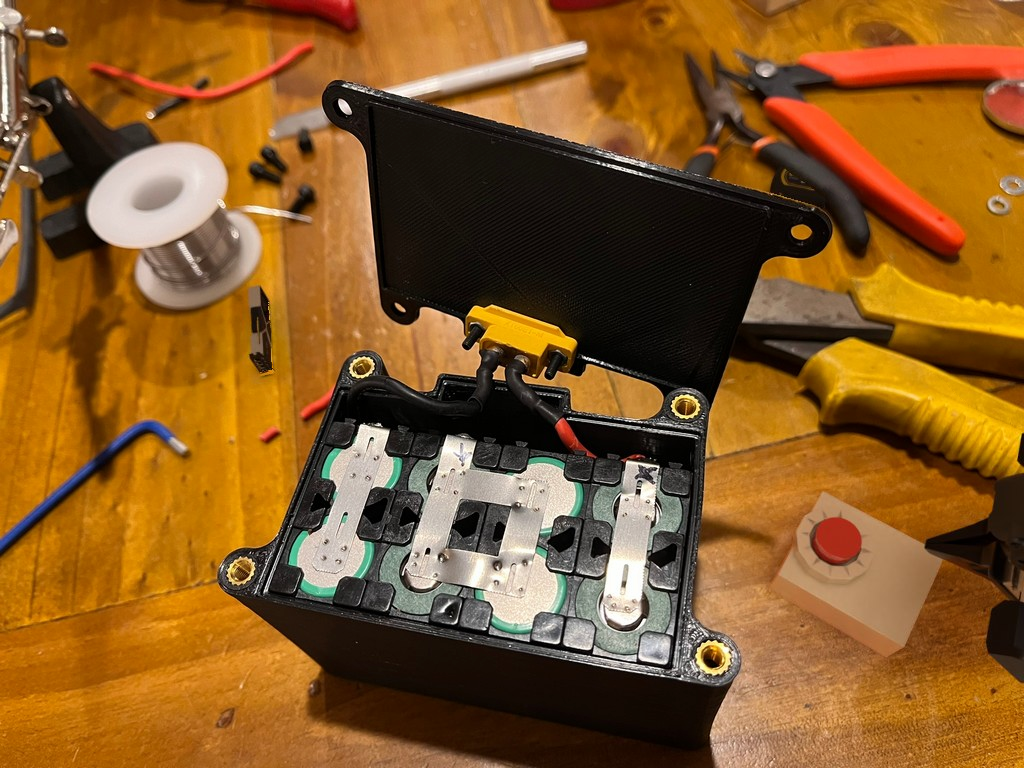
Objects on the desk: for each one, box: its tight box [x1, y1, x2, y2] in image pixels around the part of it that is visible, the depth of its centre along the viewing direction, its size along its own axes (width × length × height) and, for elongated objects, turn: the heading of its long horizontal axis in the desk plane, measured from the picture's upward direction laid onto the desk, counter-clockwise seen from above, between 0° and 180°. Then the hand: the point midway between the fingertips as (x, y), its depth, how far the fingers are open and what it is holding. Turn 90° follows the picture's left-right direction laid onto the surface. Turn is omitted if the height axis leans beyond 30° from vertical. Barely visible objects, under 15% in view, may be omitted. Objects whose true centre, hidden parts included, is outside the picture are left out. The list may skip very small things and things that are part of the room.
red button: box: [812, 517, 862, 564], centre depth 72 cm, size 4×4×2 cm
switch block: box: [768, 491, 944, 658], centre depth 74 cm, size 12×10×7 cm
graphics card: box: [248, 284, 275, 373], centre depth 98 cm, size 12×3×5 cm, turn 12°
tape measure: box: [769, 166, 827, 211], centre depth 100 cm, size 7×7×4 cm
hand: (926, 546), depth 65 cm, fingers closed
